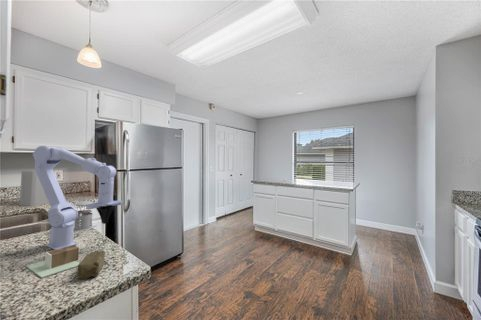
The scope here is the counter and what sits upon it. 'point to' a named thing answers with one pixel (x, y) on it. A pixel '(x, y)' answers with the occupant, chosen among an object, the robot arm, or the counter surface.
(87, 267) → the stone block
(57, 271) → the sage mat
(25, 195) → the tall grey box
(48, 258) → the walnut block
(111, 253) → the counter surface
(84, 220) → the french press
